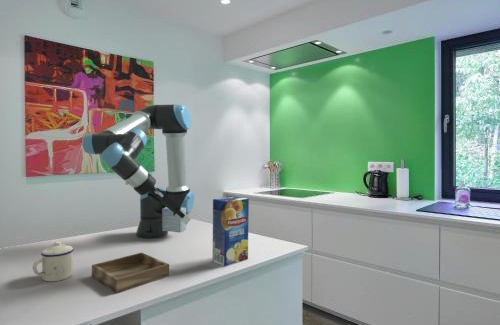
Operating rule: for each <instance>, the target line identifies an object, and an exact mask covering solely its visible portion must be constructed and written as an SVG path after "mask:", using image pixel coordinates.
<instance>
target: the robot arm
mask: <svg viewBox="0 0 500 325" xmlns="http://www.w3.org/2000/svg"><path fill="white" fill-rule="evenodd" d="M191 125H192V118H191V114H190V110H189V109H188V108H187V106H186V105H185V104H177V103H175V104H152V105H148V106H145V107H142V108H140V109H138V110H137V111H134V112H133V113H132V114H131V116H130V117H128V118H126V119H124V120H122V121H120V122H118V123H116V124H114V125H112V126H110V127H108V128H107V129H105V130H102V131H100V132H98V133H94V132H93V133H87V134H85V135H84V137H83V138H82V141H81V146H82V149H83V152H85V153H87V154H89V155H100V159H101V160H102V161H103V163H105V164H106V165H107V166H106V167H108V168H109V169H110V170H112V171H113V172H114V173H115V174H116V175H117V176H119V177H120V178H121V179H122V180H123V181H125V185H126V186H127V185H129V186H130V187H131V188H133V190H134V191H135V192H136V193H137V194H139V196H140V199H139V202H140V203H139V204H140V207H139V208H140V209H139V210H140V211H139V212H140V217H139V218H140V220H139V222H138V226H137V228H136V237H138V238H142V239H154V238H160V237H161V238H162V237H164V236H167V235H168V234H169V231H163V230H162V229H163V228H162V209H163V208H166V207H167V208H168V209H170V210H171V211H172V212H173V213H174V214H173V215H176V216H177V217H178V218H179V219H180V220H181V221H182V222H183V223H184V224H185V225H186V226H187V225H188V224H189V222H190V221H191V220H192V218H190V217H189V216H188V215H189V214H190V213H191V212H192V210H193V208H194V203H195V194H194V192H193V191H191V189H190V186H189V185H188V184H187V169H186V167H187V166H186V149H185V136H186V134H187V133H188V130H190V129H191V127H192V126H191ZM148 130H161V132H162V133H161V134H162V135H163V136H165V142H166V143H165V147H166V149H165V150H166V160H167V161H166V163H167V179H168V181H167V182H168V185H167V186H166V188H164V187H155V185H156V183H157V180H156V178H154V176H153V175H152V174H150V173H149V171H147V169H145V167H144V166H143V165H141V164H140V163H139V162H138V160H137V158H138V156H139V154H141V152H143V149H144V148H145V146H146V144H147V141H148V137H147V135H146V133H145V132H146V131H148ZM181 208H186V214H185V213H184V212H183V211H182V210H181Z"/></svg>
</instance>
